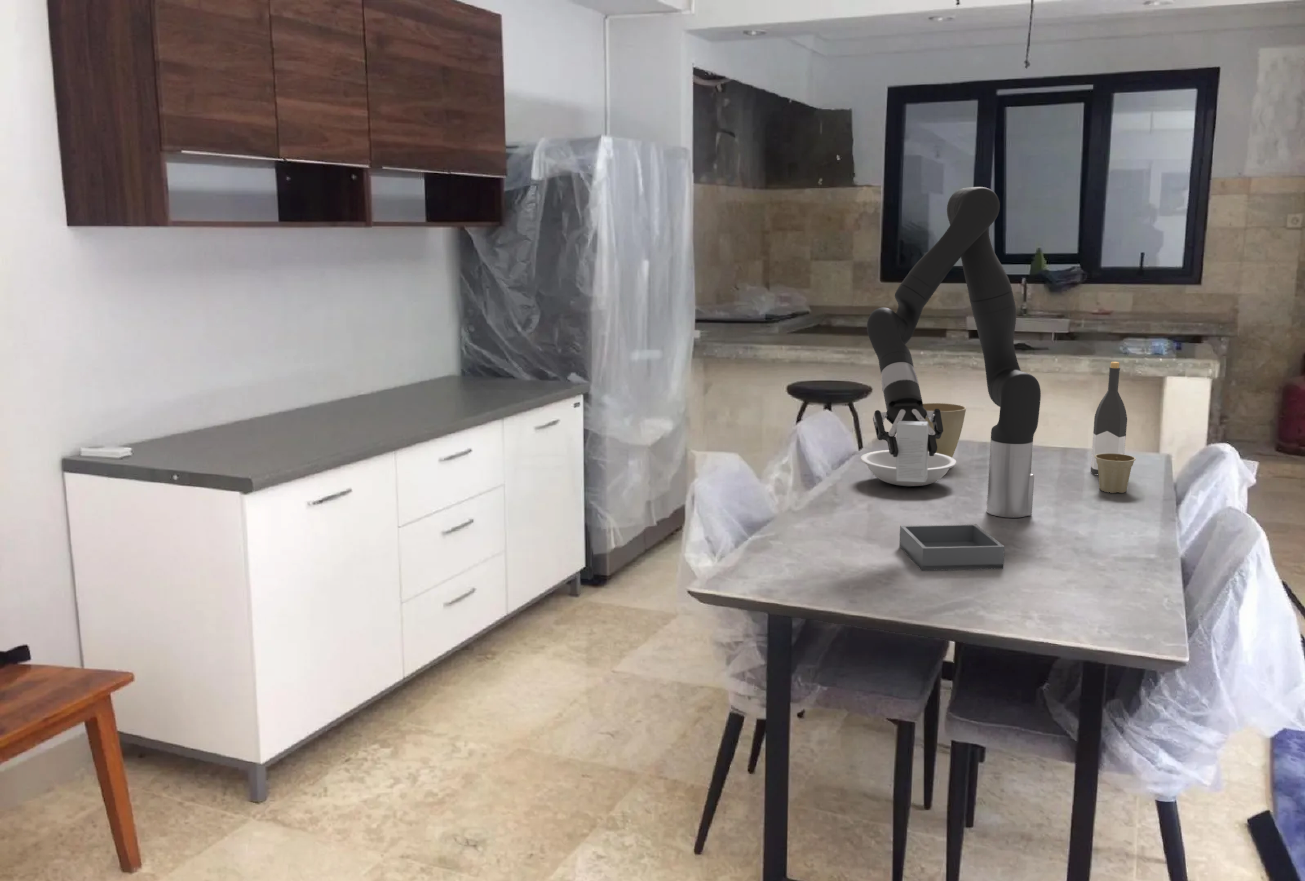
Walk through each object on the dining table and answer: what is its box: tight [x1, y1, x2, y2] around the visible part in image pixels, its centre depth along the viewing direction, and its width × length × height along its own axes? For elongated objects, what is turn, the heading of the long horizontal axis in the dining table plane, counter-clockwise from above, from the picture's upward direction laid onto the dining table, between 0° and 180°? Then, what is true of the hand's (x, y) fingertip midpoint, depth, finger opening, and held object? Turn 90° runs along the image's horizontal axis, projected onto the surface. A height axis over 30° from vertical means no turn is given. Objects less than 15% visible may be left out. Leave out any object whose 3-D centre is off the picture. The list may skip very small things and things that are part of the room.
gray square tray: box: [898, 523, 1005, 572], centre depth 214 cm, size 16×16×4 cm
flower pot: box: [1095, 453, 1137, 494], centre depth 266 cm, size 9×9×9 cm
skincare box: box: [896, 421, 928, 482], centre depth 218 cm, size 6×4×12 cm
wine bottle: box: [1090, 361, 1128, 475], centre depth 282 cm, size 8×8×30 cm
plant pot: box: [923, 402, 967, 458], centre depth 298 cm, size 15×15×16 cm
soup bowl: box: [860, 449, 957, 487], centre depth 275 cm, size 24×24×7 cm
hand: (914, 454), depth 217 cm, fingers closed on skincare box, 7 cm apart
